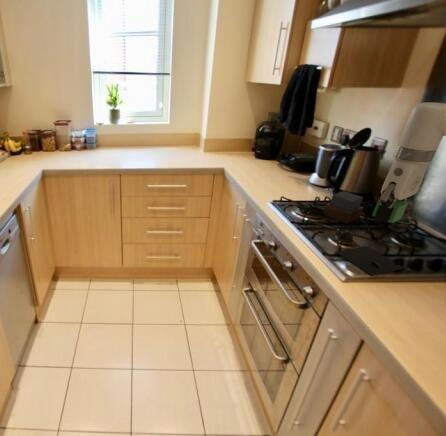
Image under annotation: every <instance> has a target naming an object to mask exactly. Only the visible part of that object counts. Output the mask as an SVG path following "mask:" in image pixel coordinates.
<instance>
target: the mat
mask: <svg viewBox="0 0 446 436" xmlns="http://www.w3.org/2000/svg"><path fill="white" fill-rule="evenodd" d="M335 254H337V255H338V256H340V257H341V258H343V259H344V260H346V261H347V262H349V263H350V264H352V265H354V266H355V267H357V268H358V269H359V270H360V271H363V272H364V273H365V274H367V275H368V276H370V277H372V276H377V275H381V274H388V273H393V272H396V271H397V272H398V271H401V270H405V267H404V266H402V265H400V264H398V263H397V262H395V261H393V260H392V259H390V258H388V257H386V256H385V255H383V254H381V253H379V252H378V251H377V250H374V249H373V248H372V247H369V246H362V247H357V248H351V249H345V250H341V251H336V253H335ZM371 261H374V262H376V263H378V264H379V265H380V266H381V268H376V267H374V266H371V264H370V262H371ZM395 263H396V264H398V265H396V264H395ZM394 264H395V265H394Z"/></svg>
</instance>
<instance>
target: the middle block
mask: <svg viewBox="0 0 446 436" xmlns="http://www.w3.org/2000/svg"><path fill="white" fill-rule="evenodd" d="M363 199H364V197H363V196H362V195H358V194H354V193H351V192H348V191H345V190H343V191H340V192H337V193H334V194H332V196H331V200H330V202H331V203H330V202H329V203H330V204H331V205H333V206H336V207H339V208H342V209H344V210H347V211H351V210H353V209H356V208H358V207H360V206H361V204H362V202H363Z"/></svg>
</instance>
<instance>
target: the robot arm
mask: <svg viewBox="0 0 446 436" xmlns="http://www.w3.org/2000/svg"><path fill="white" fill-rule="evenodd" d="M443 137H446V103H444V102H433V101H432V102H430V101H429V102H427V101H426V102H420V103H417V104H415V105H414V106H413V108H412V110H411V112H410V114H409V116H408V119H407V122H406V124H405V127H404V129H403V132H402V134H401V136H400V139H399V141H398V144H397V146H396V149H395V151H394V154H393V157H392V158H393V159H394V162H393V163H392V165H391V166H390V169H389V171H388V172H387V173H388V174H387V175H386V177H385V180H384V181H383V184H382V186H381V190H380V194H381V196H380V197H379V200H381V202H380V204H379V207H378V210H377V212H376V215H375V217H374V218H375V219H378V220H381V221H384V222H387V221H389V219H390V216H391V214H392V212H393V210H394V208H393V206H394V204H395V202H396V201H397V200H401V201H404V202H406V200H408V199H409V198H411V197H413V196H414V195H416V194H417V193H418V192H419V190H420V187H421V185H422V182H423V180H424V177H425V174H426V172H427V169H428V166H429V164H431V163H432V161H433V159H434V157H435V155H436V152H437V150H438V148H439V146H440V144H441V141H443ZM389 198H391V199H393V200H392V202H391V201H390V200H389Z"/></svg>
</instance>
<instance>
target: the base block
mask: <svg viewBox="0 0 446 436" xmlns="http://www.w3.org/2000/svg"><path fill="white" fill-rule="evenodd" d="M330 203H331V201H330V202H327V203H325V205H324V208H323V211H322V215H324V216H325V217H327V218H331V219H333V220H336V221H338V222H341V223H344V224H349V223H351V222H353V221H356V220H359V219H360V218H361V216H362V215H363V214H362V213H363V211H364V208H365V207H364V206H361V205H360V207H358V208H356V209H353V210H351V211H347V210H344V209H342V208H339V207H336V206H333V205H331V204H330Z"/></svg>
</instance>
